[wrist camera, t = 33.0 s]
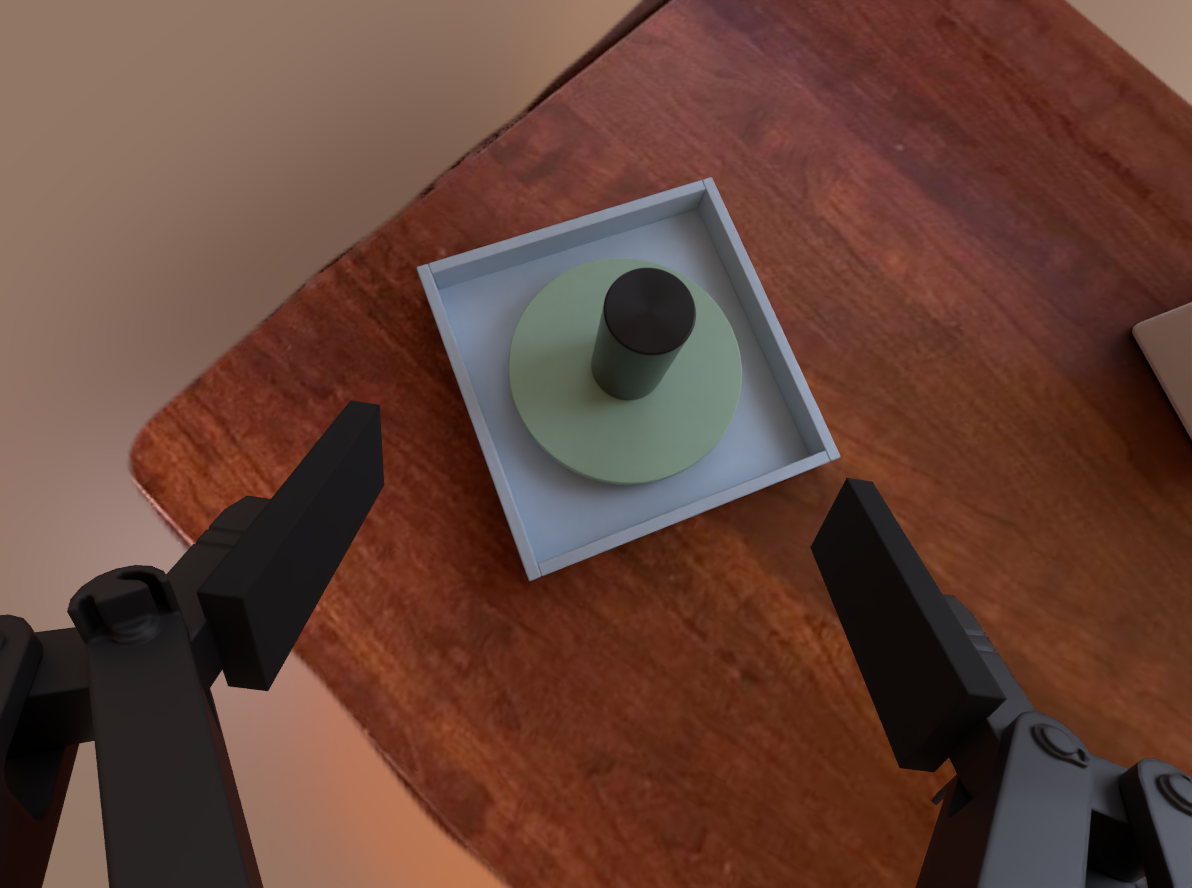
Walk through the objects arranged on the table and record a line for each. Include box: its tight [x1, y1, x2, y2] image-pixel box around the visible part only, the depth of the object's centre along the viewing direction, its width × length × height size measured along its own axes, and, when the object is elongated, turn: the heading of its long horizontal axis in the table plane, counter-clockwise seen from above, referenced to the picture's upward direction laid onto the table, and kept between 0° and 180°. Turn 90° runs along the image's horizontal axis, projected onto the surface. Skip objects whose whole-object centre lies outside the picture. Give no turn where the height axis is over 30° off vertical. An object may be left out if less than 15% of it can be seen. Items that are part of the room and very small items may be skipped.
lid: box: [508, 258, 742, 485], centre depth 21 cm, size 10×10×7 cm
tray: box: [417, 177, 840, 581], centre depth 24 cm, size 14×14×2 cm
